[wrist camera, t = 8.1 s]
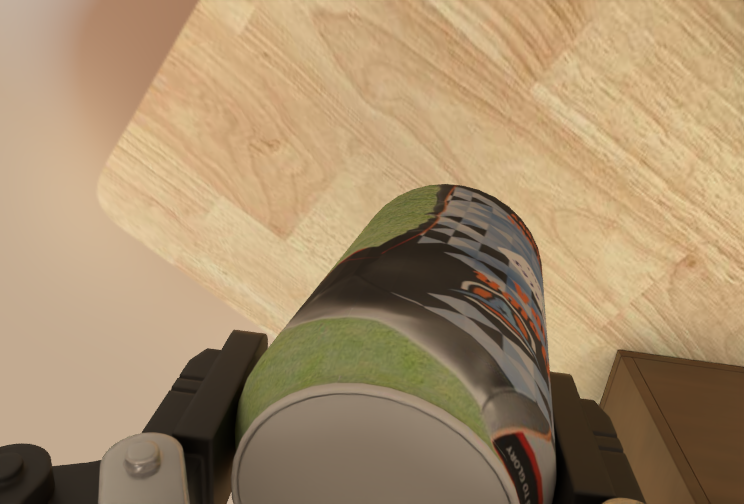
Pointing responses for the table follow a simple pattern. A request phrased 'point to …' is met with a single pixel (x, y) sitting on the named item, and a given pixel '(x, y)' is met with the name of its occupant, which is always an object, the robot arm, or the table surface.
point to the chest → (679, 427)
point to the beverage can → (409, 369)
